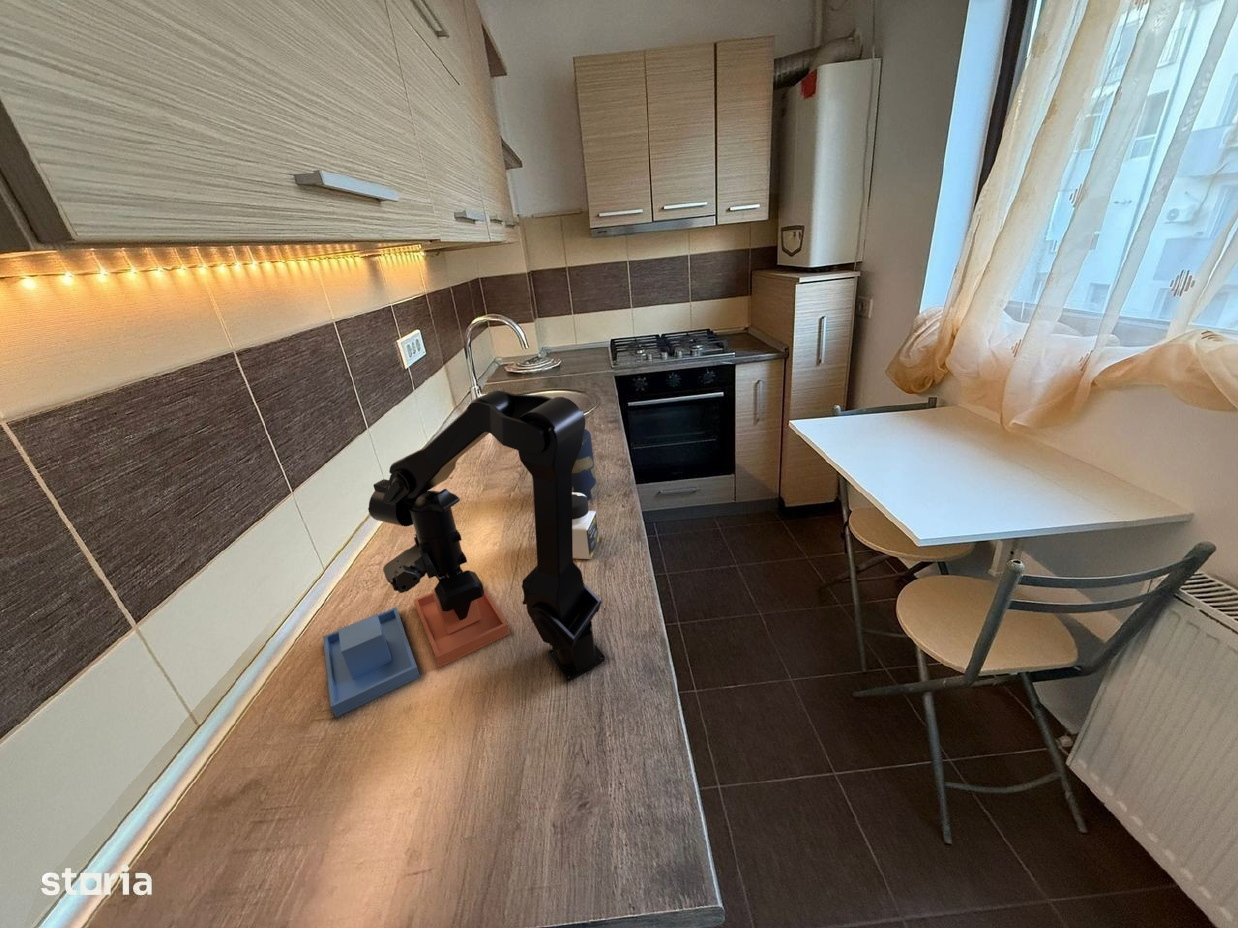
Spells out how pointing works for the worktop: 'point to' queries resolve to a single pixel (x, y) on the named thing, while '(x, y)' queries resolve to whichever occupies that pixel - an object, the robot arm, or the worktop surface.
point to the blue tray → (376, 682)
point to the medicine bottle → (583, 527)
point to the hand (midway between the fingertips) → (457, 608)
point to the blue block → (364, 646)
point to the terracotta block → (452, 620)
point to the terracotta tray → (464, 638)
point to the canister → (584, 469)
